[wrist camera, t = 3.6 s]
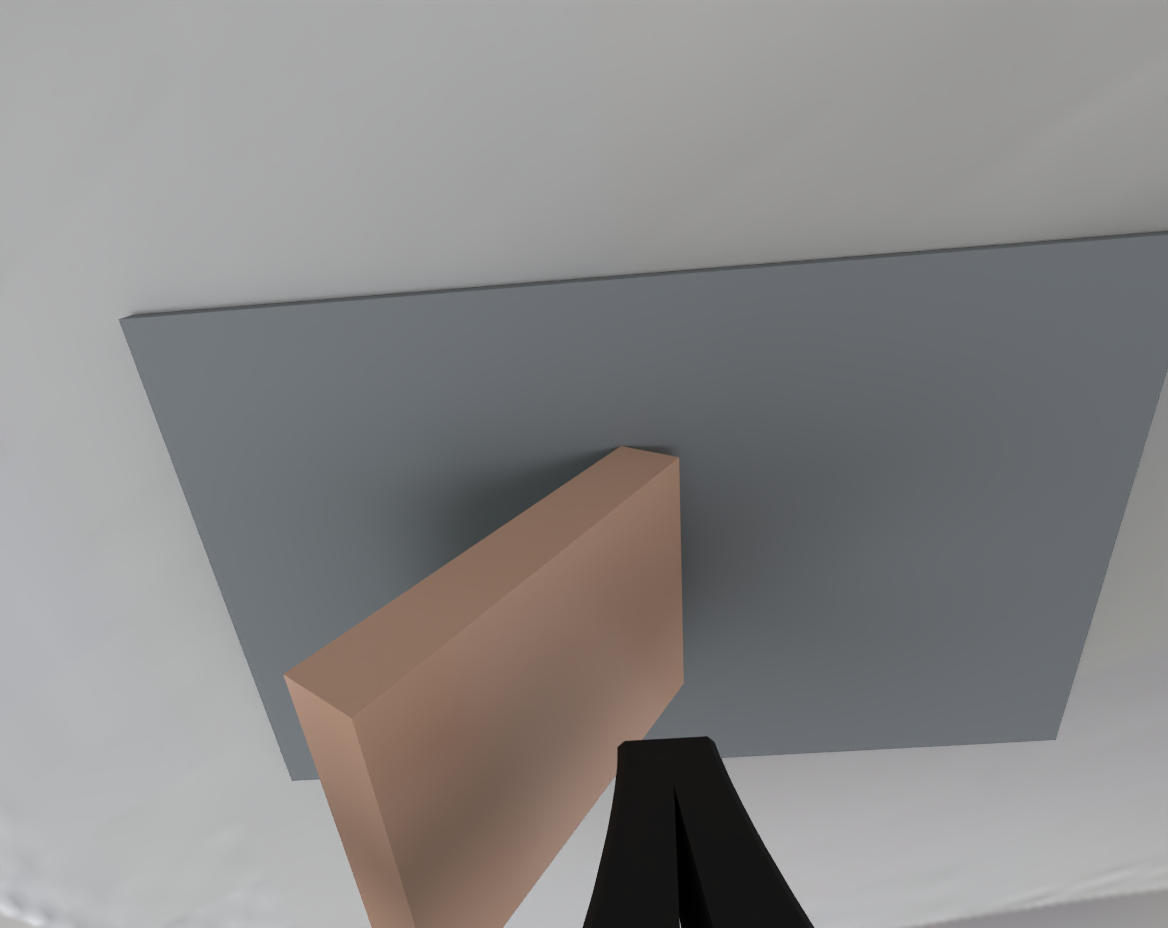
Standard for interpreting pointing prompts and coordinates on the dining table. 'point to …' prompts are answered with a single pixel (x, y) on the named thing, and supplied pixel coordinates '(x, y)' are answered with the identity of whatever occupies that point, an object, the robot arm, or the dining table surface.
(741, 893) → the robot arm
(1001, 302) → the mat
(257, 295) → the dining table surface
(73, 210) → the dining table surface
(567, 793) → the tile
